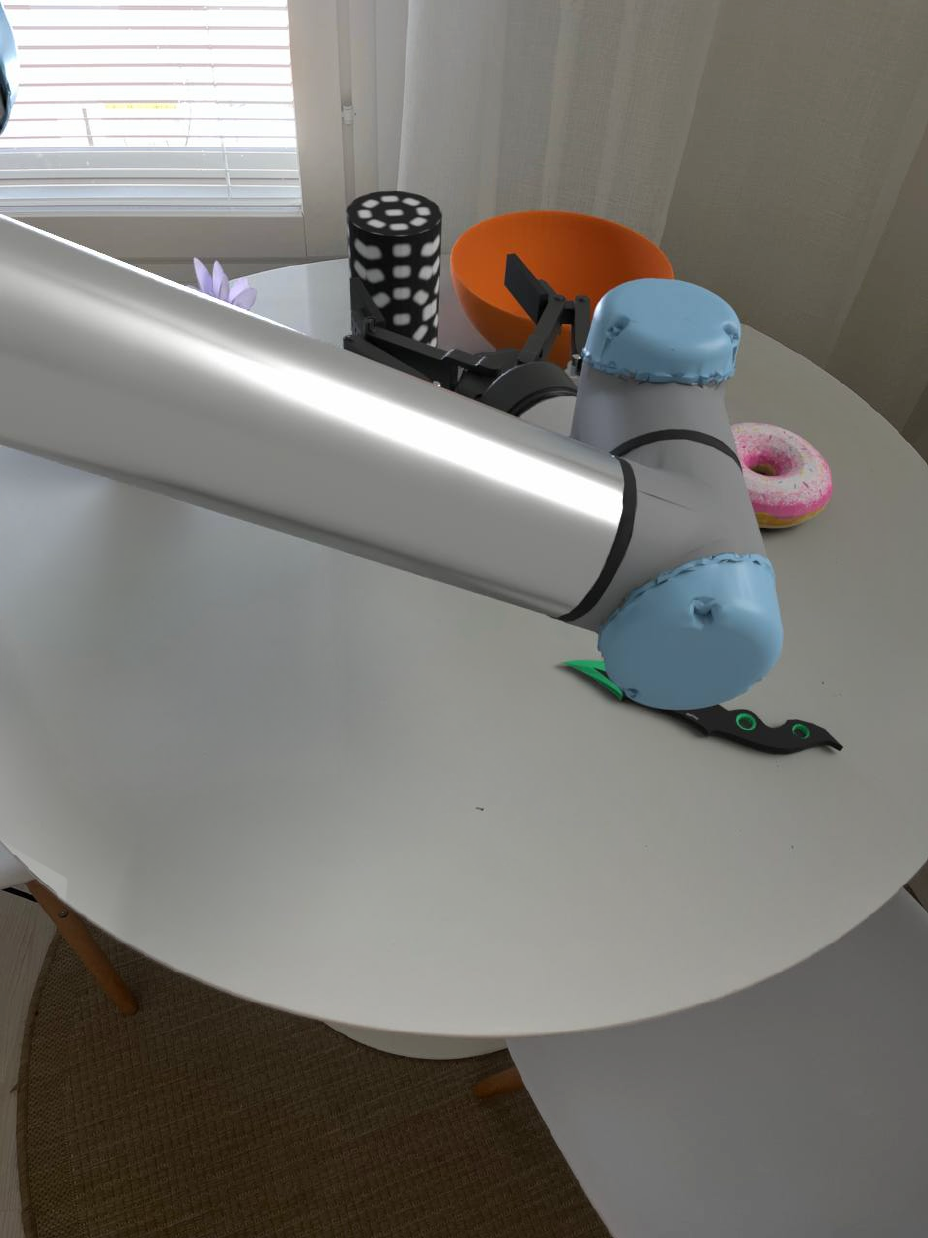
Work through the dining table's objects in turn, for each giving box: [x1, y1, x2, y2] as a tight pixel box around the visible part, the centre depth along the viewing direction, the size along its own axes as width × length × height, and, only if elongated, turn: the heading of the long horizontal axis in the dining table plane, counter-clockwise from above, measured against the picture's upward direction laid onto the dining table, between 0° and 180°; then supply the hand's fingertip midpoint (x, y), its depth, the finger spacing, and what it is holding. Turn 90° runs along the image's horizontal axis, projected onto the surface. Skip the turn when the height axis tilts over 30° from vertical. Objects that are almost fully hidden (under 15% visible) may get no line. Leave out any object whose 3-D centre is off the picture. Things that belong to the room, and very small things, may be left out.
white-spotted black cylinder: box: [345, 190, 443, 348], centre depth 87 cm, size 8×8×20 cm
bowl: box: [449, 209, 675, 370], centre depth 105 cm, size 25×25×10 cm
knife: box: [560, 659, 844, 755], centre depth 75 cm, size 23×1×5 cm
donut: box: [730, 421, 834, 529], centre depth 91 cm, size 14×13×5 cm
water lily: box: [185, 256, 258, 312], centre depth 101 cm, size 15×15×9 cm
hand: (433, 280), depth 74 cm, fingers open, 13 cm apart
